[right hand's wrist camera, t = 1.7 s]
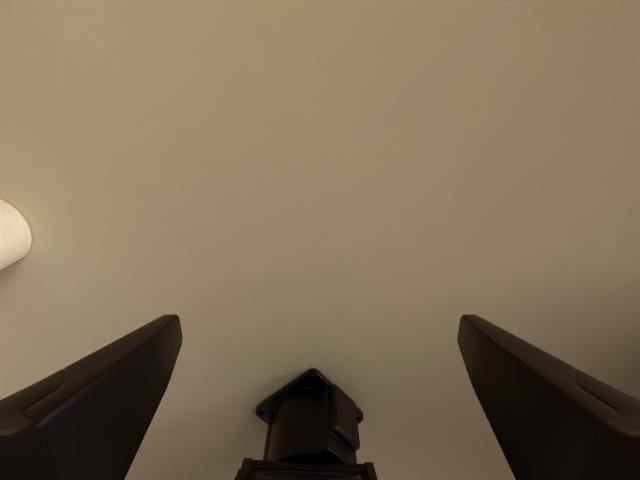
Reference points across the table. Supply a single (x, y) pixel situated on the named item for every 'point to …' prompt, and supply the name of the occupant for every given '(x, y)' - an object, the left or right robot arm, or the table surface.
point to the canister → (12, 235)
